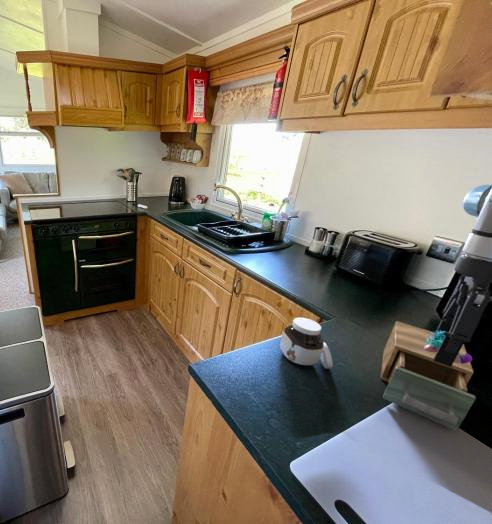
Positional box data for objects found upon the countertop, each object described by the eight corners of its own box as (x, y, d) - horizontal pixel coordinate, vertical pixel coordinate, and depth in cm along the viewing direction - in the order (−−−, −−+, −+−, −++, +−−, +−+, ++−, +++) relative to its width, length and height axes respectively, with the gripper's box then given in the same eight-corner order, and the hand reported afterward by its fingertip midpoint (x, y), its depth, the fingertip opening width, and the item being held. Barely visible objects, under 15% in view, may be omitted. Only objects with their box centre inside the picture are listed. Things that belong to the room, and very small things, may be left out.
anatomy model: (464, 353, 58) (483, 343, 60) (416, 331, 65) (435, 324, 67) (455, 373, 60) (474, 363, 62) (410, 350, 67) (428, 342, 69)
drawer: (461, 451, 57) (482, 417, 54) (381, 414, 64) (395, 382, 61) (448, 391, 73) (464, 362, 70) (385, 366, 80) (397, 340, 77)
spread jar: (273, 349, 86) (282, 315, 82) (305, 345, 89) (315, 312, 85) (303, 377, 75) (315, 340, 71) (338, 372, 78) (351, 336, 74)
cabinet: (453, 408, 68) (473, 372, 65) (380, 379, 77) (395, 345, 73) (445, 373, 81) (462, 341, 77) (383, 351, 89) (396, 320, 85)
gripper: (536, 277, 47) (472, 387, 55) (504, 252, 62) (457, 342, 70) (470, 264, 51) (419, 368, 59) (454, 244, 66) (416, 329, 74)
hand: (440, 354), depth 64 cm, fingers closed on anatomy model, 8 cm apart
